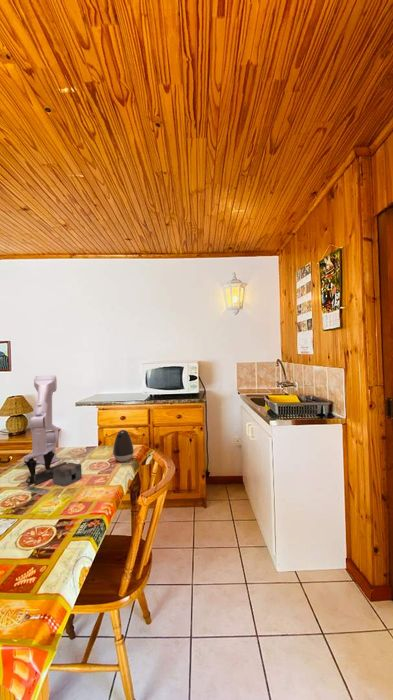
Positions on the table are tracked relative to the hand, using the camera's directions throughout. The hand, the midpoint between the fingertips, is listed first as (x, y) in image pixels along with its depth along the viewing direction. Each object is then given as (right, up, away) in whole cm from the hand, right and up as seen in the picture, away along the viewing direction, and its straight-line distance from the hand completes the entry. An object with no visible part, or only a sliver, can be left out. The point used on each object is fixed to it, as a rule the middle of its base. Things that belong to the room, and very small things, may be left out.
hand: (40, 472), depth 144 cm
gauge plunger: (+11, -1, -7) cm, 13 cm away
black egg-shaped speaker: (+34, -1, +18) cm, 38 cm away
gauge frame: (+10, -1, -9) cm, 14 cm away
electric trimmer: (+3, -2, -2) cm, 4 cm away
